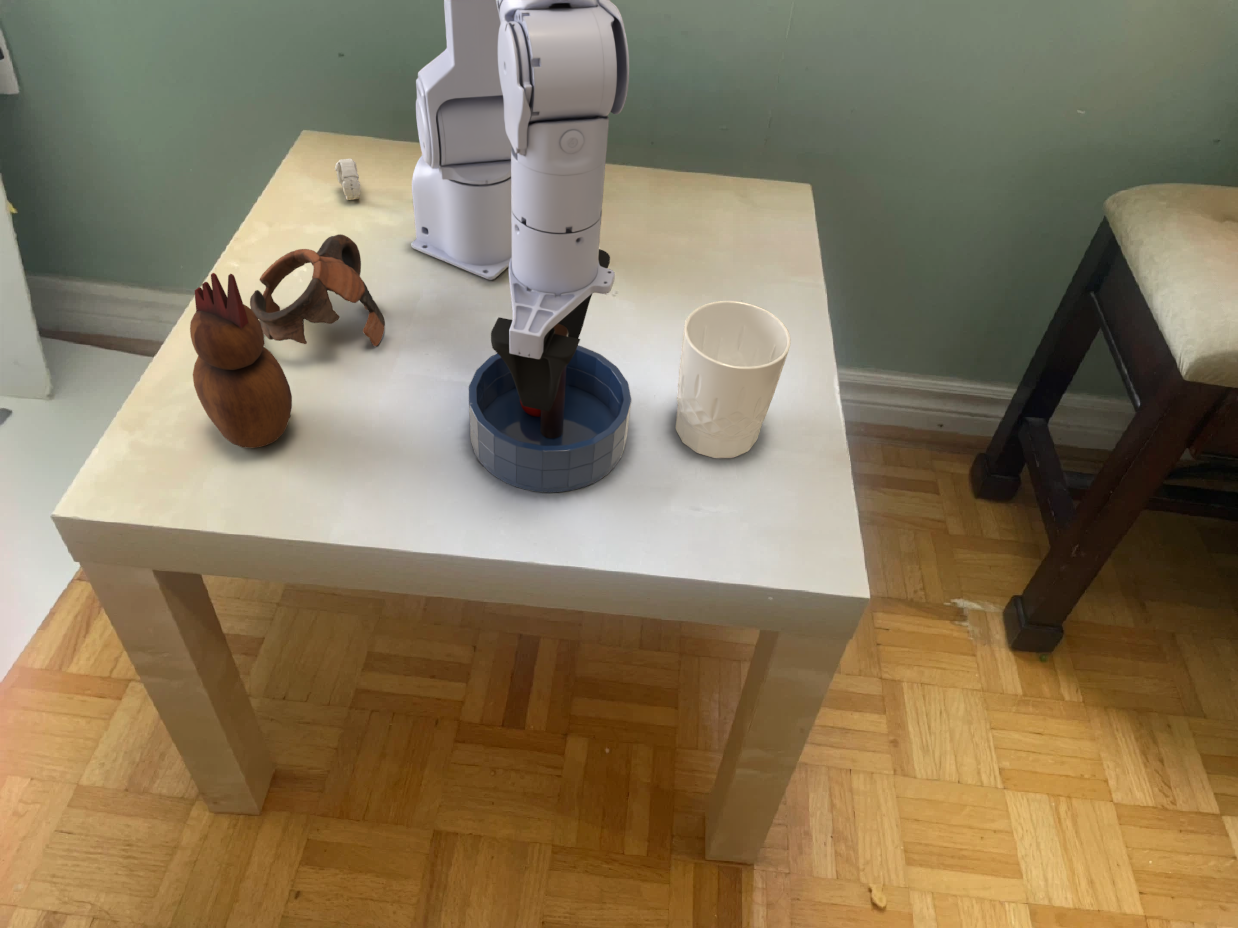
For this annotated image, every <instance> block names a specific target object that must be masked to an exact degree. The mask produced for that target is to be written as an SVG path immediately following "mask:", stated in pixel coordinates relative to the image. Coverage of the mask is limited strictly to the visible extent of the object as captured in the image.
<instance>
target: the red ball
mask: <svg viewBox="0 0 1238 928" xmlns="http://www.w3.org/2000/svg"><path fill="white" fill-rule="evenodd" d="M520 403H521V406H522V408H523V410H524V411H525V412H526V413H527V414H529V415H531V416H535V417H541V410H539V409H534V408H530V407H525V406H523V405H522V402H521V400H520Z"/></svg>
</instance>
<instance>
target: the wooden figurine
mask: <svg viewBox="0 0 1238 928" xmlns="http://www.w3.org/2000/svg"><path fill="white" fill-rule="evenodd" d="M210 281H211V285H210V283H209V282H208V281H204V282H203V283H202V284H201V287H200V286H199V287H197V288H196V289H194V301H195V310H196V311H195V312H194V314H193V316H192V318H191V320H190V323H189V333H190V334H189V335H190V339H191V343H192V347H193V349H194V351H195V352H196V355H197V357H196V361H195V362H194V366H193V371H192V381H193V386H194V389H195V393H196V395H197V398H198V400H199V402H200V404H201V406H202V408H203V410H204V412H205V413H206V415H207V417H208V418H209V420H210V421H211V422H212V423H213V425H214V426H215V428H216V429H217V430H218V431H219V432H220V434H221V435H222V436H223V438H224V439H225V440H227V441H228V442H230V443H231V444H232V445H235V446H237V447H240V448H243V449H244V448H245V449H247V448H248V449H257V448H260V447H264V446H267V445H270V444H272V443H274V442H276V441H278V439H279V438H280V437H281V436H282V435H284V433H285V431H286V429H287V428H288V424H289V422H290V418H291V414H292V409H293V395H292V390H291V387H290V384H289V382H288V379H287V376H286V374H285V372H284V370H283V368H282V366H281V363H280V362H279V361H278V359H277V358H276V356H275V355H274V354H273V353H272V352H271V351H270V350H269V349H268V348H266V347H265V335H264V334H263V330H262V327H261V323H260V321H259V319H258V318H257V317H256V315H255V313H254V312H253V310H251V307H250V306H248V305H246V304H244V302H243V299H242V296H241V293H240V290H239V287H238V284H237V280H236V277H235V275H234V274H233V273H229V274H228V276H227V291H226V292H225V289H224V287H223V286H222V284H221V282H220V279H219V278H218V276H217V274H216V273H215V272H212V273H211V274H210Z"/></svg>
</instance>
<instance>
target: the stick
mask: <svg viewBox="0 0 1238 928" xmlns="http://www.w3.org/2000/svg"><path fill="white" fill-rule="evenodd" d="M553 328H555V334H558V335H563V336H568V330H567V328H566V327H565V326H563V325H561V324H556V325H555V326H554V327H553ZM565 384H566V367H565V368H564V369H563V371H562V373H561V377H560V382H559V386H558V390H557V394H556V397H555V400H554V402H553V405H552V407H551V409H550V411H544V410H541V419H540V432H541V434H542V435H543V436H544V437H546V438H550V439H554V438H558V437H559V436H561V435H562V433H563V423H564V404H565Z"/></svg>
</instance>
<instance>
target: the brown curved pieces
mask: <svg viewBox="0 0 1238 928" xmlns="http://www.w3.org/2000/svg"><path fill="white" fill-rule="evenodd" d="M305 264H311V266H312V268H313V272H312V276H311V280H310V281H309V282H308V285H307V286H306V288H305V290H304V291H303V292H302V293H301V294H300V296H298V297H297V299H296V300H294V301H293V302H292V303H291V304H289V305H288V306H286V307H285V308H283V309H281V307H280V306H279V304H277V303H276V302H275V301H274V298H273V295H272V294H273V293H274V292H275V290H276V289H277V287H278V286H279V285H280V284H281V282H282V281H283V280H284V279H285V278H286V277H287V276H289V275H290V274H292V273H293V272H294V271H296V269H298V268H301V267H304V266H305ZM361 272H362V258H361V252H360V250H359V247H358V245H357V243H356V242H355V241H353V240H352V239H351V238H350V237H349V236H346V235H345V234H341V233H340V234H336V235H331V236H328V237H327V238H326V239H325V240H324V241H323V242H322V244H321V246H320V247H319V249H318V250H317V252H316V251H315V250H312V249H309V248H300V249H294V250H291V251H290V252H287V253H286V254H284V255H282V256H280V257H279V258H278V259H276V260H275V261H274V262H273V263H271V264H270V266H269V267H267V268H266V270H264V272H263V273H262V274H261V276H260V277H259V282H260V283H261V284H262V285H264V287H265V289H264V291H263V293H262V292H261V291H260V290H259V289H257V290H254V292H253V293H252V295H251V296H250V299H249V308H250V309H251V310H253V312H254V313H255V315H256V317H257V318H258V320H259V321H260V323H261V327H262V330H263V335H264V337H266V338H267V339H268V340H270V341H273V340H274V341H278V342H279V341H280V342H283V341H287V340H291V341H295V342H297V343H299V344H303V345H307V343H308V341H307V339H306V336H305V325H304V320H305V321H307V322H308V323H312V324H327V325H332V324H334V323H336V322H338V321H340V318H341V316H340V315H339V314H338V313H337V311H336V310H335V309H334V307H333V303H332V301H331V298H330V296H329V292H332V293H334V294H335V295H337V296H339V297H340V298H342V300H344V301H346V302H350V303H351V304H355V303H358V302H360V303H361V304H362V305H363V307H364V309H365V310H366V311H368V316H367V319H366V322H365V324H364V327H363V329H362V333H363V334H364V335H365V337H367V338H368V339H369V341H370V342H371V344H372V346H373V347H377V346H379V344H380V343H381V341H382V338H383V336H384V333H385V326H386V319H385V317H384V315H383V313H382V312H381V310H380V308H379V306H378V304H377V303H376V301H375V300H374V298H373V296H372V295H371V293H370V290H369V289H368V286H367V285H366V283H365V281H364V280H363V279H362V277H361Z"/></svg>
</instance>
